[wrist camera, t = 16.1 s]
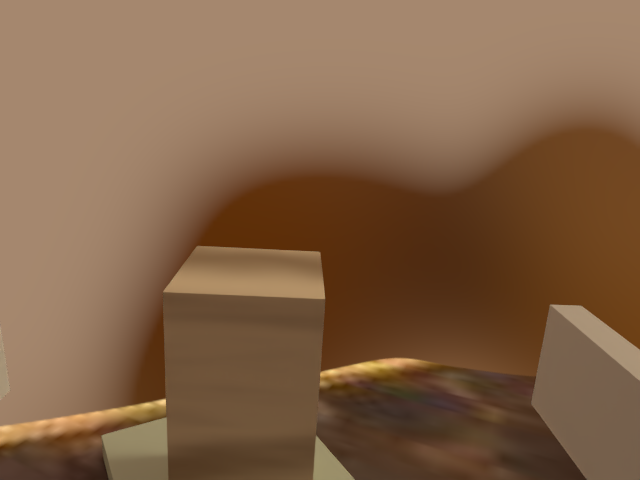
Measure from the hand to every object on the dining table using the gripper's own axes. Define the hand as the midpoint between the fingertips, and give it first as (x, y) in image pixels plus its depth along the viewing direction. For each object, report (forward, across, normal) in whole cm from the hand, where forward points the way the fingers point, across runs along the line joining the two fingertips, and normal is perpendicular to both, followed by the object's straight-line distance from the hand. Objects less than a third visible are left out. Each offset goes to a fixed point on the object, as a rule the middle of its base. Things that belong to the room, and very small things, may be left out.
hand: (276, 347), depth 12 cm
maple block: (+9, -2, -13) cm, 16 cm away
